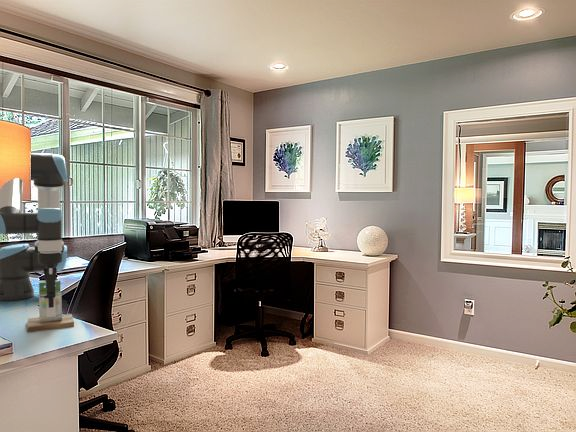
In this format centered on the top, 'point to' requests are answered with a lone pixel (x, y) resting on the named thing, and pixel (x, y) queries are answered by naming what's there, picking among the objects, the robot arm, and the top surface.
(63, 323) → the board
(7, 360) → the top surface
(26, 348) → the top surface
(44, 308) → the ink box
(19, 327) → the top surface
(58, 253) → the robot arm
